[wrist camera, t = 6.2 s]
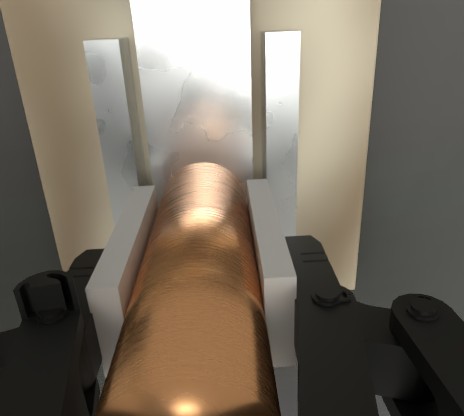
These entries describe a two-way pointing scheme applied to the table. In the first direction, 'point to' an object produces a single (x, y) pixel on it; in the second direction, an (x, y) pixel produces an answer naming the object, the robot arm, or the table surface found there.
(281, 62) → the rails
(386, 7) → the table surface
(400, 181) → the table surface
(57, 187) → the board
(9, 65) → the table surface
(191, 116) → the ram
